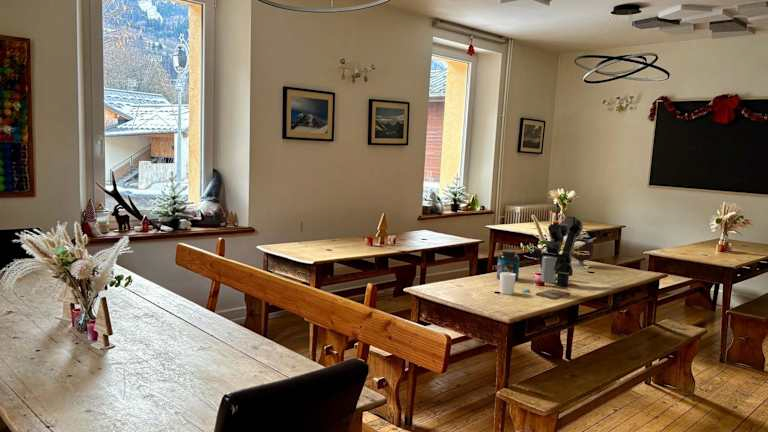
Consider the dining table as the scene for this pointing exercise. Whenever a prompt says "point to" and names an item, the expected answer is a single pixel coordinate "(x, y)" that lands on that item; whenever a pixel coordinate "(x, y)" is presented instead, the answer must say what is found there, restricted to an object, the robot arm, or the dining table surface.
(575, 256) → the mate gourd
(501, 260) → the container
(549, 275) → the canister
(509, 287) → the white cup
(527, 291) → the teal token
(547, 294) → the walnut board
